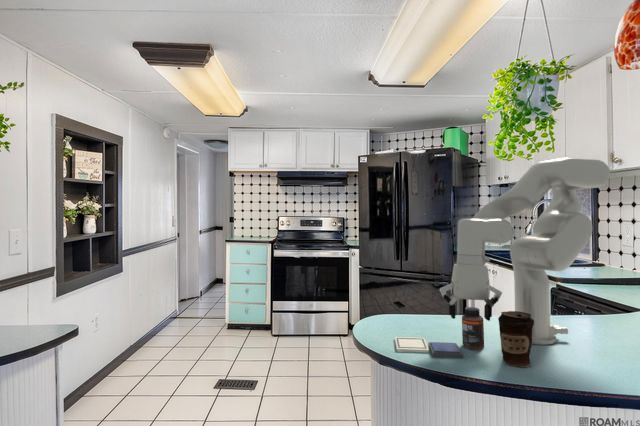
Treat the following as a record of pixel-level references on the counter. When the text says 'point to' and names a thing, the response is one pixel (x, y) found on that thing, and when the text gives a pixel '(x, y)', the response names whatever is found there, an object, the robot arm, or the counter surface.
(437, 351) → the ink pad
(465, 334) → the supplement bottle
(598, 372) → the counter surface
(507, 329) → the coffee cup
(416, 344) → the board
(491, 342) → the counter surface
